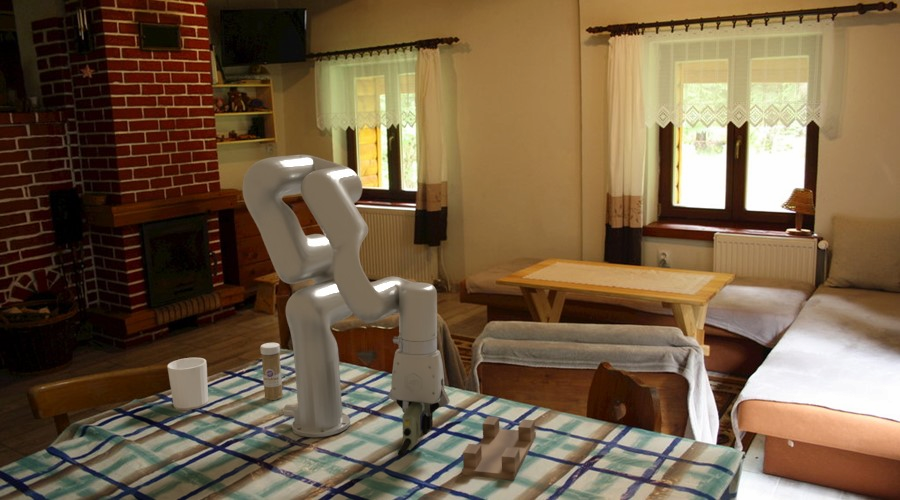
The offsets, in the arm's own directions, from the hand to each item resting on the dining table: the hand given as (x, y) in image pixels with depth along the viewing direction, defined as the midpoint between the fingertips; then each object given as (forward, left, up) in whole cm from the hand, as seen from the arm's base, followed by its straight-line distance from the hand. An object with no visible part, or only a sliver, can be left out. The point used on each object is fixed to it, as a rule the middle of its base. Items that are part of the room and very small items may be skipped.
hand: (418, 429), depth 160 cm
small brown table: (+17, 0, -3) cm, 18 cm away
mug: (-64, +11, -4) cm, 65 cm away
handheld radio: (-1, 0, -1) cm, 1 cm away
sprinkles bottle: (-45, +19, -4) cm, 49 cm away
